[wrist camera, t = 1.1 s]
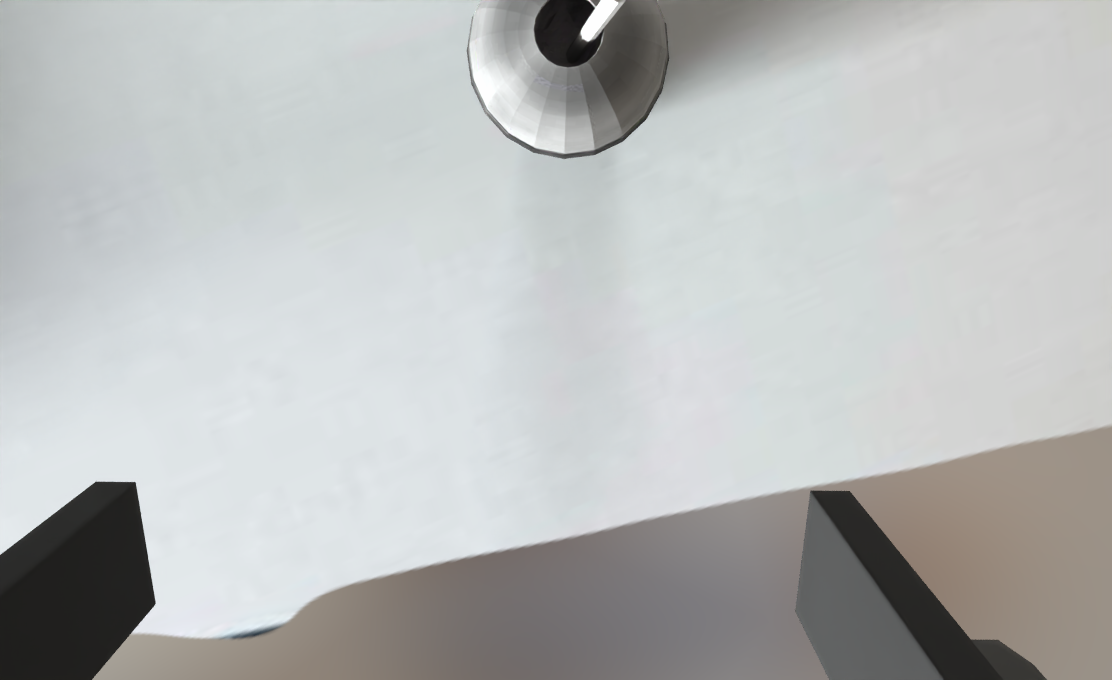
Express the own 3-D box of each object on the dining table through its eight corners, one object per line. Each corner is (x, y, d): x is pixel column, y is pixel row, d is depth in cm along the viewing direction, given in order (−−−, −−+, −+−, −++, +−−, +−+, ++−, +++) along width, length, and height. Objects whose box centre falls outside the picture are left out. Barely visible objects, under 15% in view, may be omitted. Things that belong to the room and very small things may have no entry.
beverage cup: (497, 17, 36) (420, -185, 17) (641, 22, 36) (732, -174, 17) (494, 165, 38) (420, 139, 18) (632, 170, 38) (708, 150, 18)
